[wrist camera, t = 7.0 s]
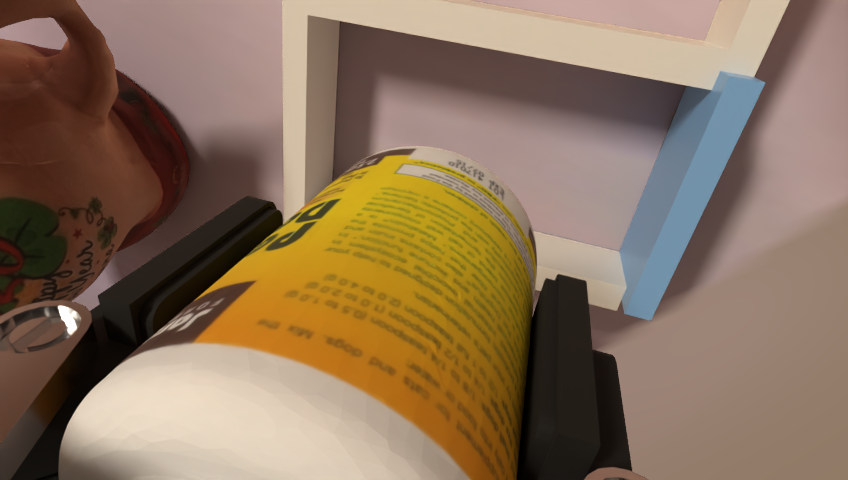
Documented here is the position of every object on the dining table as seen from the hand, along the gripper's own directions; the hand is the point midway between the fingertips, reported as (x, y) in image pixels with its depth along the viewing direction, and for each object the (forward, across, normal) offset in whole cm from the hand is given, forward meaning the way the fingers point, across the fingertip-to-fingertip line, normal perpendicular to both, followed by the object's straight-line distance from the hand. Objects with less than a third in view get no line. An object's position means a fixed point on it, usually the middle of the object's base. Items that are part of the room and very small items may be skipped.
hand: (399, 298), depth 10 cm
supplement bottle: (+3, 0, 0) cm, 3 cm away
